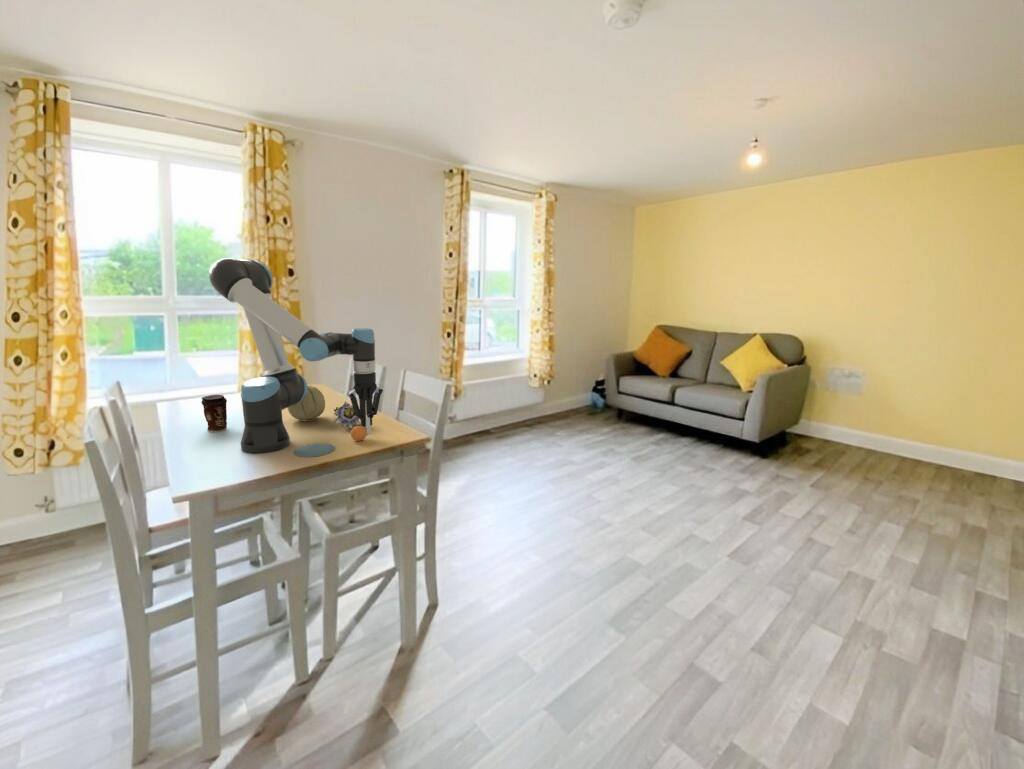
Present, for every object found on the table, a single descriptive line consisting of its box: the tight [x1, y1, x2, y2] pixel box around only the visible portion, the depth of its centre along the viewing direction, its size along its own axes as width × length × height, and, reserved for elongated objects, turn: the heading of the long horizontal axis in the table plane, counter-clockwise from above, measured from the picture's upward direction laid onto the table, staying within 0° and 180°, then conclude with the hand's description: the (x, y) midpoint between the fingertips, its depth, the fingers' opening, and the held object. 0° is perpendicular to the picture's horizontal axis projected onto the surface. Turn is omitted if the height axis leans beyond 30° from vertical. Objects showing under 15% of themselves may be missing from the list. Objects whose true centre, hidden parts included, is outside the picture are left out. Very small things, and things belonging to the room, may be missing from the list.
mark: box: [293, 442, 336, 458], centre depth 161 cm, size 13×13×1 cm
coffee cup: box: [200, 394, 228, 433], centre depth 179 cm, size 9×8×13 cm
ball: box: [350, 425, 367, 442], centre depth 171 cm, size 6×6×6 cm
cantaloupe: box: [286, 385, 326, 422], centre depth 193 cm, size 15×15×15 cm
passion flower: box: [333, 401, 361, 429], centre depth 188 cm, size 11×11×12 cm
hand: (366, 434), depth 174 cm, fingers closed
